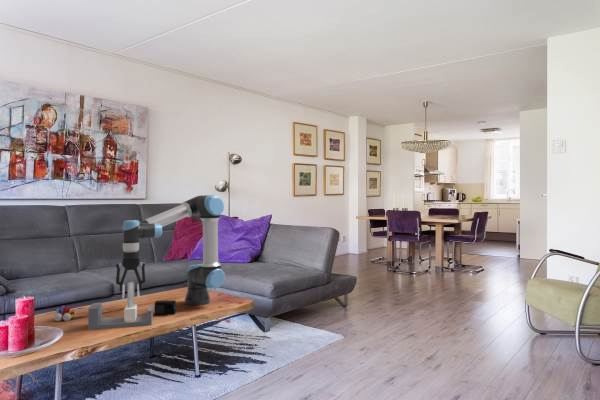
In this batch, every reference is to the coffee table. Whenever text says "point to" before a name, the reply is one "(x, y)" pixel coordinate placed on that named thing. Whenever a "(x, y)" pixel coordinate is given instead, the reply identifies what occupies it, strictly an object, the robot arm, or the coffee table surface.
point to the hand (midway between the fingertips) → (130, 297)
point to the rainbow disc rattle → (64, 314)
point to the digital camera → (165, 307)
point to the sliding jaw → (130, 305)
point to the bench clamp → (115, 319)
